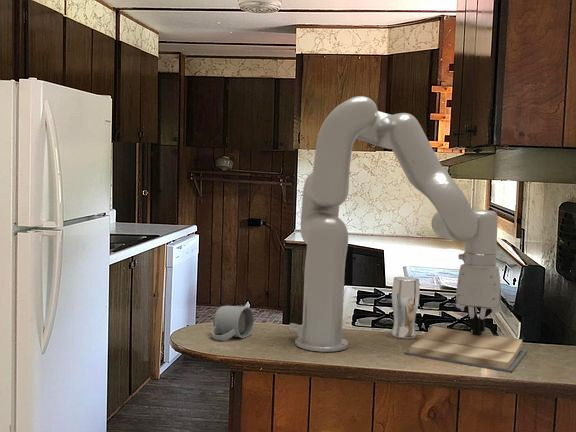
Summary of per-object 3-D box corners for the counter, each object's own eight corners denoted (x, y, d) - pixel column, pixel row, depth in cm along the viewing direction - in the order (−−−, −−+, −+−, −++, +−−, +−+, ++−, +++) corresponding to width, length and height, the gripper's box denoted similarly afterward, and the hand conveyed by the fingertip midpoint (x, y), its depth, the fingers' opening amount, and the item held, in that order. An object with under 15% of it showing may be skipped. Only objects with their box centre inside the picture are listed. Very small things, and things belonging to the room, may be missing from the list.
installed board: (409, 352, 152) (409, 346, 152) (421, 344, 160) (421, 338, 160) (507, 369, 142) (507, 362, 142) (514, 359, 149) (515, 353, 149)
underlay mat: (404, 354, 152) (404, 352, 152) (429, 337, 170) (429, 335, 170) (511, 372, 141) (511, 370, 141) (526, 352, 158) (526, 350, 158)
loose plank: (421, 343, 161) (422, 338, 160) (432, 331, 168) (432, 326, 168) (515, 359, 150) (515, 352, 150) (522, 345, 158) (522, 339, 158)
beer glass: (419, 339, 166) (422, 281, 166) (392, 338, 167) (394, 280, 166) (414, 333, 173) (417, 277, 172) (388, 332, 174) (391, 276, 173)
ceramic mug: (227, 330, 169) (227, 300, 168) (254, 334, 165) (255, 304, 164) (203, 339, 159) (203, 308, 159) (231, 344, 156) (232, 312, 155)
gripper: (445, 259, 161) (443, 332, 163) (509, 264, 154) (506, 341, 155) (453, 256, 168) (451, 326, 169) (514, 261, 161) (511, 334, 162)
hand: (477, 333), depth 162 cm, fingers closed
